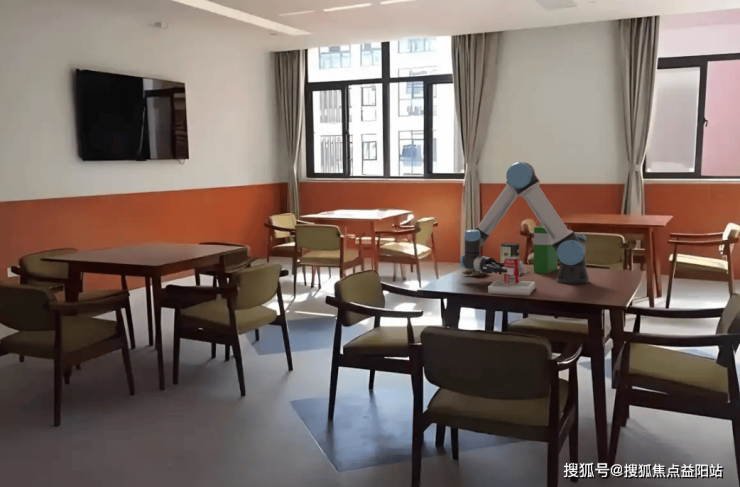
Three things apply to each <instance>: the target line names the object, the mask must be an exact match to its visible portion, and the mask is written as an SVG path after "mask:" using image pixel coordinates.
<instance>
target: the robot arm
mask: <svg viewBox="0 0 740 487" xmlns="http://www.w3.org/2000/svg"><path fill="white" fill-rule="evenodd" d="M505 184H506V185H505V187H504V188H503V189H502V191H501V193H500V194H499V195H498V197H497V198H496V199H495V201H494V202H493V204H492V205H491V206H490V208H489V210H488V211H487V212H486V214H485V215H484V216H483V218H482V219H481V221H480V222H479V224H478V225H477V226H476V227H475V229H466V230H465V231H464V237H463V238H464V254H462V255H461V257H460V259H459V263H460V266H461V267H462V268H464V269H466V270H475V271H480V273H482V272H484V273H488V274H493V273H495V274H498V275H502V274H504V273H505V274H510V275H513V274H514V269H512V268H506V267H504V263H501V262H499V261H496V260H495V259H494V258H493V257H489V256H485V255H481V247H482V246H484V244H486V242H487V240H488V238H489V236H490V235H491V234H492V232H494V230H495V228H496V227H497V226H498V224H499V223H500V222H501V220H502V219H503V217H504V216H505V215H506V213H507V211H508V210H509V209H510V208H511V206H512V204H513V203H515V200H516V199H517V197H518V196H519V197H522V198H523V199H524V201H525V202H526V203H527V205H528V206H529V207H530V209H531V211H532V213H533V214H534V215H535V217H536V218H537V220H538V221H539V223H540V224H541V225H542V226H543V227H544V229H545V230H546V232H547V233H548V235H549V236H550V238H551V239H552V242H551V245H552V247H553V248H554V250H555V251H556V253H557V256H558V257H557V259H558V260H559V261H560V262H559V264H560V265H559V269H558V271H557V273H556V276H555V277H556V282H557V283H561V284H566V285H567V284H568V285H582V284H588V283H590V277H589V273H588V270H587V267H586V261H587V260H586V259H587V257H586V255H587V254H586V251H587V250H586V249H587V237H586V235H585V234H581V233H579V234H577V233H575V232H574V231H573V230H572V229H569V228H567V226H566V224H565V222H563V220H562V218H561V217H560V215H559V214H558V212H557V211H556V210H555V208H554V206H553V205H552V204H551V202H550V201H549V199H548V198H547V195H545V193H544V191H543V190H542V188H541V187H540V184H541V181H540V179H539V178H538V177H537V175H536V172H535V169H534V167H533V166H532V165H531V164H529V163H527V162H521V161H519V162H518V161H517V162H515V163H513V164H511V165H510V166H509V167H508V169H507V170H506V183H505ZM520 272H521V274H527V272H528V270H527V267H526V266H523V267H522V266H520Z"/></svg>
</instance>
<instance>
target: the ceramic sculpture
mask: <svg viewBox="0 0 740 487" xmlns="http://www.w3.org/2000/svg"><path fill="white" fill-rule="evenodd" d="M462 274H463V275H467V276H470V275H473V276H475V277H481V276H483V275H484V276H485V275H488V274H489V273H484V272H482V273H480V271H475V270H468V269H466V270H465V271H463V272H462Z"/></svg>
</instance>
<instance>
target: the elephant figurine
mask: <svg viewBox="0 0 740 487" xmlns="http://www.w3.org/2000/svg"><path fill="white" fill-rule="evenodd" d="M519 262H520V266H522V267H525V266H524V263H523V261H522V260H519ZM520 275H522V273H521V272H520Z"/></svg>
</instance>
